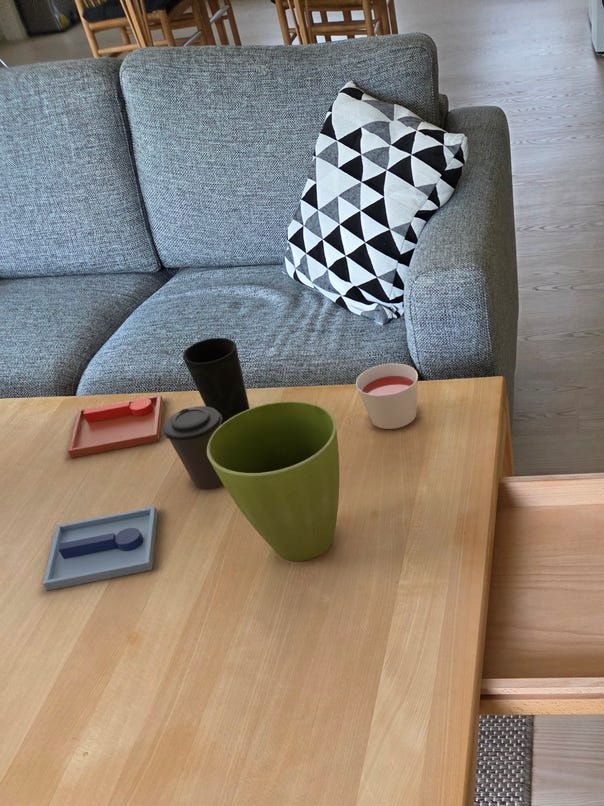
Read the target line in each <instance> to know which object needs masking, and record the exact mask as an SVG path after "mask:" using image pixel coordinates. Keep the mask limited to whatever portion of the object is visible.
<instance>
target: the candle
mask: <svg viewBox="0 0 604 806" xmlns="http://www.w3.org/2000/svg"><path fill="white" fill-rule="evenodd" d="M418 376H419V375H418V372H417V370H416V369H415V368H414V367H412V366H410V365H408V364H404V363H394V362H393V363H383V364H379V365H375V366H371V367H370V368H367V369H366V370H364V371H363V372H362V373H360V374H359V375H358V377H357V378H356V380H355V387H356V390H357V391H358V394H359V396H360V398H361V401H362V403H363V406H364V408H365V410H366V413H367V415H368V417H369V420H370V422H371V423H372V424H373V425H374V426H375V427H377V428H379V429H383V430H384V429H385V430H395V429H400V428H403V427H405V426H407V425H409V424H410V423H412V422H413V421H414V420H415V418H416V416H417V413H418V380H419V377H418Z"/></svg>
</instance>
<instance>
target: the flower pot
mask: <svg viewBox="0 0 604 806" xmlns="http://www.w3.org/2000/svg"><path fill="white" fill-rule="evenodd" d="M207 456H208V458H209V460H210V462H211V464H212V466H213V468H214V469H215V471H216V473H217V474H218V476H219V478H220V480H221V481H222V483H223V487H224V488H225V490H226V492H227V493H228V494H229V496H230V497H231V499H232V501H233V502H234V503H235V505H236V506H237V508H238V510H240V512H241V513H242V515H243V516H244V517H245V518H246V519H247V521H248V522H249V524H250V525H251V526H252V528H253V529H254V530H256V532H257V534H259V536H260V537H261V538H262V539H263V540H264V541H265V543H267V544H268V545H269V547H270V548H271V549H272V550H273V551H274V552H275V553H277V555H279V556H280V557H281V558H282V559H284V560H287V561H292V562H305V561H310V560H312V559H316V558H317V557H319V556H321V555H323V554H325V553H326V552H327V551H328V550H329V548H330V547H331V546H332V545H333V543H334V538H335V532H336V527H337V521H338V520H337V519H338V511H339V499H340V497H339V496H340V453H339V441H338V431H337V422H336V419H335V417H334V416H333V415H332V414H331V412H329V411H328V410H327V409H325V408H324V407H322V406H320V405H317V404H314V403H312V402H311V403H310V402H304V401H296V400H295V401H294V400H290V401H288V400H287V401H286V400H285V401H275V402H270V403H265V404H261V405H258V406H254V407H251V408H250V409H248V410H246V411H244V412H241V413H239V414H237V415H235V416H234V417H232V418H230V419H229V420H227V421H226V422H224V423H223V424H222V425H221V426H219V427H218V428H217V429H216V431H215V432H214V433H213V434H212V436H211V438H210V440H209V442H208V446H207Z"/></svg>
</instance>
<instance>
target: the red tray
mask: <svg viewBox="0 0 604 806" xmlns="http://www.w3.org/2000/svg"><path fill="white" fill-rule="evenodd" d="M142 398H143V397H141V398H140V397H139V398H135V399H130V400H124V401H119V402H113V403H108V404H103V405H97V406H91V407H87V408H82V409H78V410H77V412H76V416H75V421H74V426H73V428H72V432H71V436H70V441H69V445H68V449H67V453H68V455H69V456H70V458H77V457H82V456H83V457H84V456H88V455H93V454H98V453H103V452H110V451H115V450H120V449H124V448H125V449H126V448H131V447H135V446H136V447H137V446H140V445H147V444H151V443H156V442H160V436H161V426H162V417H163V409H164V399H163V396H162V394H157V395H152V396H146V397H145V398H147V399H150V400H151V403H152V405H153V411H152V412H150V413H149V414H147V415H144V416H134V415H133V414H132V415H127V416H122V417H117V418H111V419H106V420H100V421H95V422H90V423H87V420H86V418H85V416H84V410H86V409H91V408H96V407H102V406H107V405H113V404H118V403H123V402H130V404H131V403H132V402H133V401H135V400H138V399H142Z"/></svg>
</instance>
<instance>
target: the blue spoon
mask: <svg viewBox="0 0 604 806" xmlns="http://www.w3.org/2000/svg"><path fill="white" fill-rule="evenodd" d="M143 540H144V539H143V536H142V534H141V532H140V530H139V529H137V528H127V529H124V530H122V531H120V532H119V533H117V534H116V536H115V534H114V533H111V534H106V535H100V536H95V537H90V538H85V539H80V540H75V541H70V542H65V543H60V545H59V552H60V553H61V555H62V557H63V559H66V558H71V557H76V556H81V555H86V554H92V553H97V552H102V551H107V550H112V549H117V548H118V549H120V550H122V551H130V550H134V549H136V548H138V547H139V546H140V545H141V544H142V543H143Z"/></svg>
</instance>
